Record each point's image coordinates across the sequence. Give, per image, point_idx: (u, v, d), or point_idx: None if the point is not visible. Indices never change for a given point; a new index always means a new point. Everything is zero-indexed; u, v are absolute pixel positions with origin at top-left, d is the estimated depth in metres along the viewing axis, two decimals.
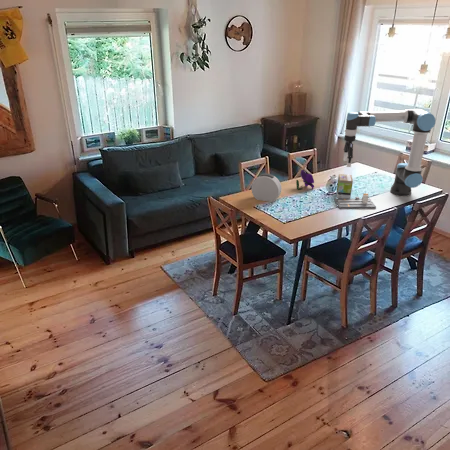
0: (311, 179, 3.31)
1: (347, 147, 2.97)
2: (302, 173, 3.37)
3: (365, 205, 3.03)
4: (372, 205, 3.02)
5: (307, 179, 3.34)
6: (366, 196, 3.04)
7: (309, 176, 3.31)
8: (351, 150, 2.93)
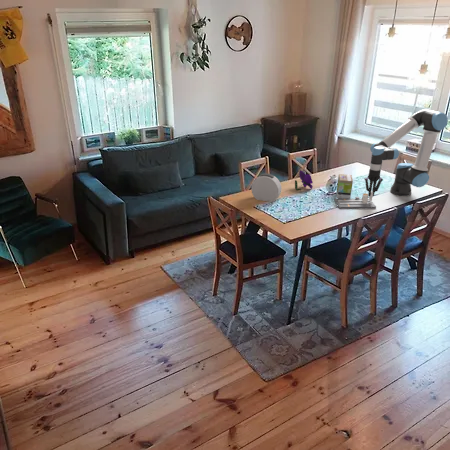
0: (309, 179, 3.30)
1: None
2: (300, 173, 3.36)
3: (365, 205, 3.03)
4: (372, 205, 3.02)
5: (305, 179, 3.33)
6: (366, 196, 3.04)
7: (307, 176, 3.30)
8: (366, 184, 3.01)
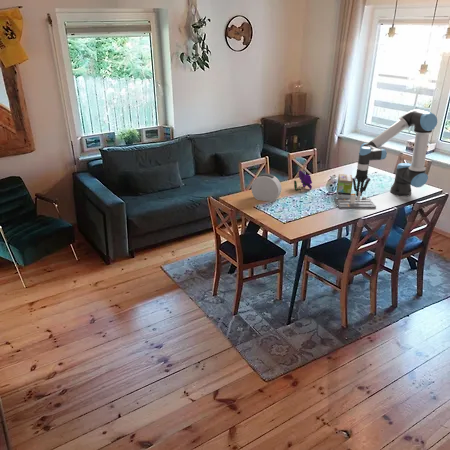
0: (309, 180, 3.30)
1: None
2: (300, 174, 3.36)
3: (365, 205, 3.03)
4: (372, 205, 3.02)
5: (305, 180, 3.32)
6: (353, 196, 3.04)
7: (307, 177, 3.30)
8: (353, 184, 3.01)
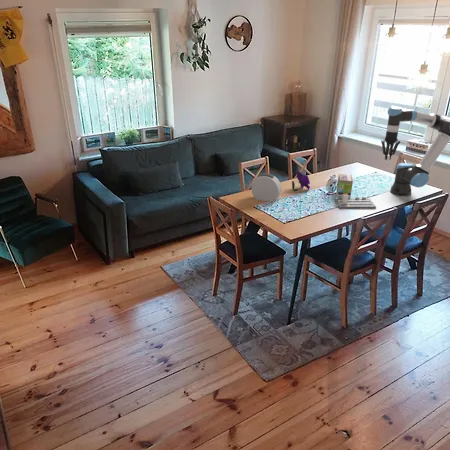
0: (307, 180, 3.29)
1: None
2: (298, 174, 3.35)
3: (365, 205, 3.03)
4: (372, 205, 3.02)
5: (303, 180, 3.31)
6: (346, 196, 3.04)
7: (305, 177, 3.29)
8: (382, 147, 2.93)
